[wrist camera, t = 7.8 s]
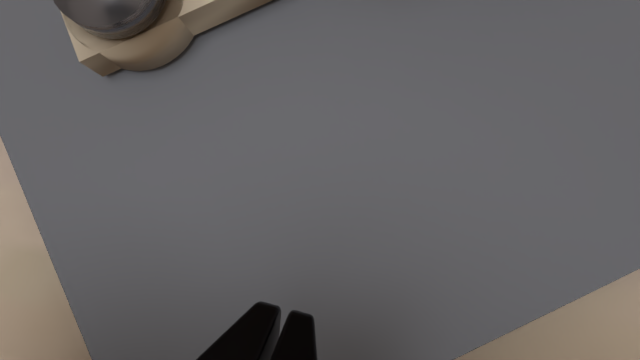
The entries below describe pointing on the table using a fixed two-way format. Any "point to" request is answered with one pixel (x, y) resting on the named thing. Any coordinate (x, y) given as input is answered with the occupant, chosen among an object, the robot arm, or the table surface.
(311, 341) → the robot arm
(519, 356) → the table surface
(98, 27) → the keeper
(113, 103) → the base board
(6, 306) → the table surface
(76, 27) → the link
